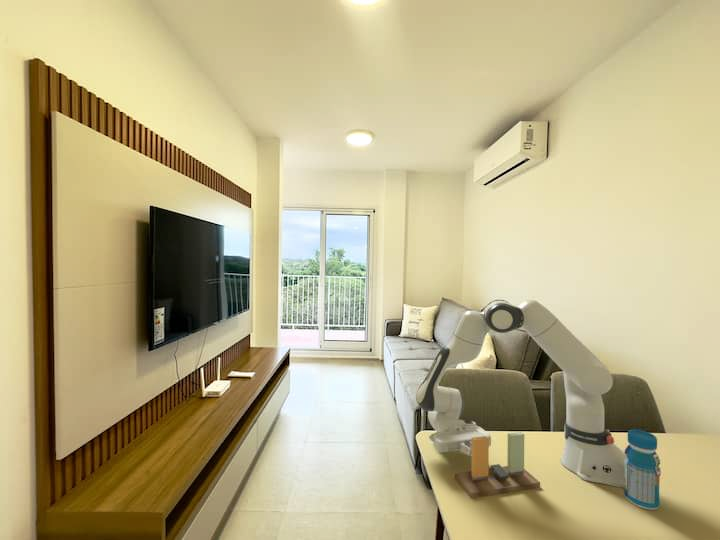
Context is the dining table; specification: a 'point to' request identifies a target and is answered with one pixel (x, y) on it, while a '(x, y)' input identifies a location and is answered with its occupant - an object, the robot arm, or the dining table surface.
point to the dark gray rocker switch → (499, 472)
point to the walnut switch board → (495, 483)
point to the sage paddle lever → (515, 453)
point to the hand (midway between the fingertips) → (473, 452)
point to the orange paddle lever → (480, 458)
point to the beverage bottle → (642, 470)
